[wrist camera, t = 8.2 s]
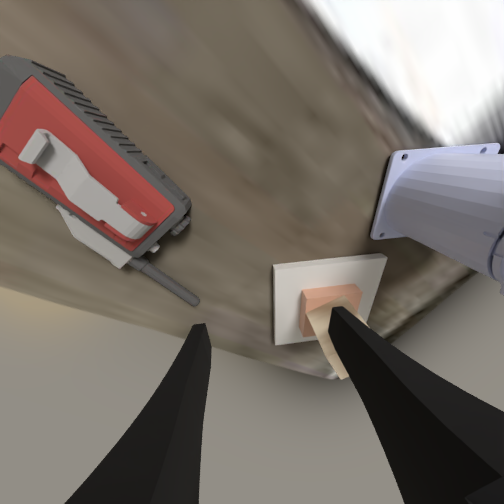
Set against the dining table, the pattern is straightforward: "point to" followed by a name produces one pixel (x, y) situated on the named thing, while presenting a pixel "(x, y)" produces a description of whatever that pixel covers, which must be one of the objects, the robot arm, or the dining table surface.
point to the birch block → (320, 326)
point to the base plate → (320, 278)
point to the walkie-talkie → (87, 169)
